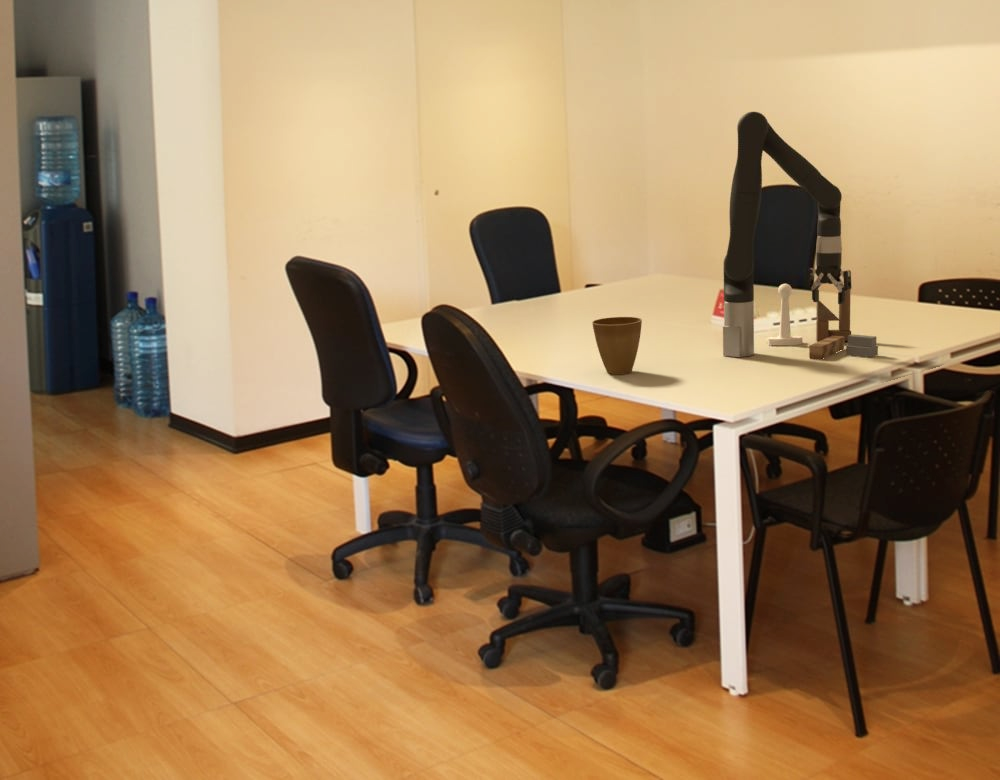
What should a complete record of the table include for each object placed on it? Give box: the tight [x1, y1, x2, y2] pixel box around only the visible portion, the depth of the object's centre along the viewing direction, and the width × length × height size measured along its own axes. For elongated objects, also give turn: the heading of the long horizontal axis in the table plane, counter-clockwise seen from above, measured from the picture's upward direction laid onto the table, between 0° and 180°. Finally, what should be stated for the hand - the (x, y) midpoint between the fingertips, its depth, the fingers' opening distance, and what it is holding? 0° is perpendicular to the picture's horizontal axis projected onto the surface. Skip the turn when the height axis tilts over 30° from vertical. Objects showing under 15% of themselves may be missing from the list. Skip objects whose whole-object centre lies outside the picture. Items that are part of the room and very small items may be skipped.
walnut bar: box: [808, 336, 845, 360], centre depth 389 cm, size 18×4×4 cm, turn 143°
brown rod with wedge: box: [815, 288, 852, 343], centre depth 408 cm, size 4×11×18 cm, turn 82°
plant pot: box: [591, 316, 643, 375], centre depth 377 cm, size 15×15×16 cm
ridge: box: [845, 333, 879, 359], centre depth 385 cm, size 5×8×6 cm, turn 45°
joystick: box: [766, 283, 803, 346], centre depth 408 cm, size 11×8×20 cm
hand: (828, 302), depth 386 cm, fingers open, 8 cm apart
